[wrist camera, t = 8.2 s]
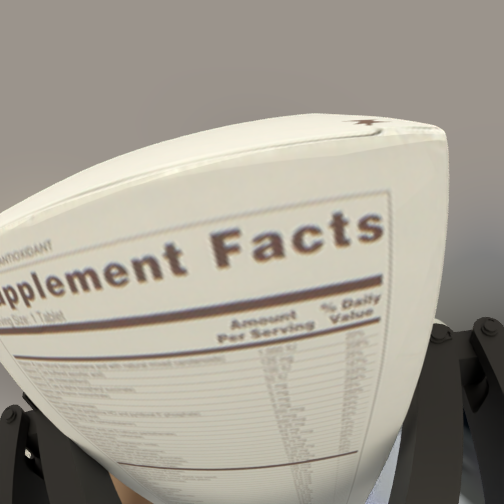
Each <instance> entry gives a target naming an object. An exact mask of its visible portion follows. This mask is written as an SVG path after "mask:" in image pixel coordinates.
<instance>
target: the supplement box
mask: <svg viewBox="0 0 504 504" xmlns="http://www.w3.org/2000/svg"><path fill="white" fill-rule="evenodd" d="M448 153H449V152H448V144H447V139H446V134H445V132H444V131H443V130H442V129H440V128H438V127H437V126H435V125H430V124H425V123H419V122H413V121H407V120H400V119H393V118H386V117H373V116H357V115H336V114H317V113H315V114H314V113H313V114H302V115H292V116H284V117H276V118H269V119H263V120H257V121H251V122H245V123H240V124H234V125H229V126H224V127H220V128H215V129H211V130H207V131H202V132H198V133H194V134H190V135H187V136H182V137H179V138H175V139H171V140H168V141H164V142H161V143H157V144H154V145H151V146H147V147H145V148H141V149H138V150H135V151H132V152H129V153H126V154H123V155H121V156H118V157H115V158H113V159H110V160H107V161H105V162H102V163H100V164H97V165H95V166H92V167H90V168H88V169H85V170H83V171H81V172H79V173H77V174H75V175H73V176H71V177H69V178H66V179H64V180H62V181H60V182H58V183H56V184H54V185H52V186H50V187H48V188H46V189H44V190H42V191H40V192H38V193H37V194H35V195H33V196H31V197H29V198H27V199H25V200H24V201H22V202H20V203H18V204H16V205H14V206H13V207H11V208H9V209H7V210H6V211H4V212H2V213H0V362H1V363H2V365H3V366H4V367H5V369H6V370H7V371H8V373H9V374H10V375H11V376H12V378H13V379H14V380H15V381H16V383H17V384H18V385H19V386H20V388H21V389H22V390H23V391H24V392H25V394H26V395H27V396H28V397H29V398H30V399H31V401H32V402H33V403H34V404H35V405H36V406H37V407H38V408H39V409H40V410H41V412H42V413H43V414H44V415H45V416H46V417H47V418H48V419H49V420H50V421H51V422H52V423H53V424H54V425H55V426H56V427H57V428H58V429H59V430H60V431H61V432H62V433H64V434H65V435H66V436H67V437H69V438H70V439H71V440H72V441H73V442H74V443H76V444H77V445H78V446H79V447H80V448H81V449H82V450H83V451H84V452H85V453H87V454H88V455H89V456H91V457H92V458H93V459H95V460H96V461H97V462H98V463H99V464H100V465H102V466H103V467H104V468H105V469H106V470H107V471H108V472H109V473H111V474H112V475H113V476H114V477H115V478H117V479H118V480H119V481H121V482H122V483H123V484H125V485H126V486H128V487H129V488H130V489H132V490H133V491H135V492H136V493H138V494H139V495H141V496H142V497H144V498H145V499H147V500H149V501H150V502H152V503H153V504H364V503H365V502H366V500H367V498H368V496H369V494H370V493H371V491H372V489H373V487H374V485H375V483H376V481H377V479H378V477H379V476H380V474H381V471H382V469H383V467H384V465H385V463H386V461H387V459H388V457H389V454H390V452H391V450H392V447H393V445H394V443H395V440H396V438H397V436H398V433H399V431H400V429H401V426H402V424H403V421H404V419H405V416H406V414H407V411H408V409H409V406H410V403H411V400H412V397H413V394H414V391H415V388H416V385H417V382H418V379H419V376H420V373H421V369H422V366H423V362H424V358H425V355H426V351H427V347H428V343H429V339H430V335H431V331H432V326H433V322H434V317H435V312H436V307H437V302H438V296H439V290H440V283H441V277H442V270H443V262H444V254H445V244H446V234H447V221H448V204H449V154H448Z"/></svg>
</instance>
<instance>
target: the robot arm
mask: <svg viewBox="0 0 504 504" xmlns="http://www.w3.org/2000/svg"><path fill="white" fill-rule="evenodd" d="M22 397H23V399H24V400H25V401H26V402H27V403H28V404H29V405H30V406H31V407H32V409H33V410H31V411H28V412H24V411H23V409H22V408H21V407H20V406H18V405H11V406H9V407H7V408H6V409H5V410H4V412H3V413H2V416H1V418H0V504H122V502H121V500H120V498H119V496H118V493H117V491H116V489H115V486H114V484H113V481H112V479H111V477H110V474H109V472H108V471H107V470H106V469H105V468H104V467H103V466H102V465H100V464H99V463H98V462H97V461H96V460H95V459H93V458H92V457H91V456H89V455H88V454H87V453H85V452H84V451H83V450H82V449H81V448H80V447H79V446H78V445H77V444H76V443H74V442H73V441H72V440H71V439H70V438H69V437H67V436H66V435H65V434H64V433H62V432H61V431H60V430H59V429H58V428H57V427H56V426H55V425H54V424H53V423H52V422H51V421H50V420H49V419H48V418H47V417H46V416H45V415H44V414H43V413H42V412H41V410H40V409H39V408H38V407H37V406H36V405H35V404H34V403H33V402H32V401H31V399H30V398H29V397H28V396H27V395H26V394H25V392H23V396H22ZM463 407H464V410H465V413H466V417H467V420H468V424H469V427H470V431H471V435H472V439H473V443H474V447H475V451H476V455H477V460H478V464H479V469H480V474H481V480H482V485H483V491H484V498H485V504H504V327H503V325H502V324H501V323H500V322H499V321H497V320H496V319H493V318H490V317H482V318H480V319H478V320H477V321H476V322H475V323H474V326H473V330H469V331H461V332H453V331H452V330H451V329H450V328H449V327H447V326H445V325H443V324H437V323H436V324H434V323H433V326H432V331H431V335H430V339H429V343H428V347H427V351H426V355H425V358H424V362H423V366H422V369H421V373H420V376H419V379H418V382H417V385H416V388H415V391H414V394H413V397H412V400H411V403H410V406H409V409H408V411H407V414H406V416H405V419H404V421H403V427H402V434H401V441H400V448H399V454H398V460H397V466H396V471H395V476H394V481H393V485H392V490H391V494H390V498H389V502H388V504H458V503H459V495H460V486H461V475H462V460H463ZM25 449H27V450H28V451H29V452H30V453H31V457H30V458H28V457H27V456H26V455H25Z"/></svg>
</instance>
